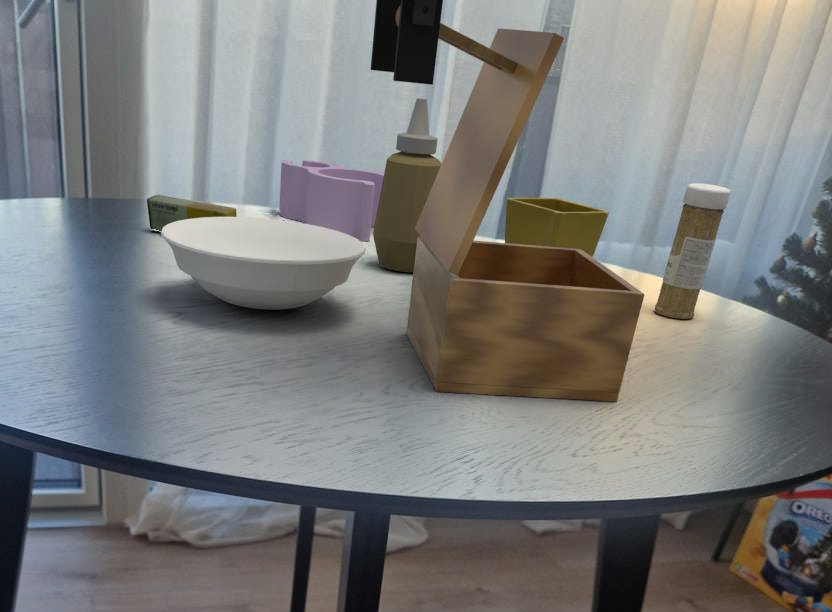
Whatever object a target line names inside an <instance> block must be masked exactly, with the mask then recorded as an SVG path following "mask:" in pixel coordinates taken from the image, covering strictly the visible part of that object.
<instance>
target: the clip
mask: <svg viewBox="0 0 832 612" xmlns="http://www.w3.org/2000/svg"><path fill="white" fill-rule="evenodd" d="M383 177H384V173H382V172H378V171H372V170H365V169H359V168H358V169H357V168H350V167H344V166H340V165H337V164H334V163H330V162H325V161H318V160H310V159H302V162H301V165H300V164H296V163H293V161H292V160H287V159H286V160H285V159H284V160H281V162H280V183H279V185H280V186H279V187H280V189H279V208H278V210H279V211H278V215H279V216H280V217H283V218H285V219H289V220H294V221H297V222H300V223H304V224H310V225H315V226H320V227H324V228H328V229H332V230H335V231H339V232H342V233H345V234H348V235H350V236H352V237H354V238H356V239H358V240H360V241H361V242H370V240H371V231H372V227H373V228H374V225H375V220H376V214H377V209H378V204H379V198H380V193H381V188H382V183H383Z"/></svg>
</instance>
